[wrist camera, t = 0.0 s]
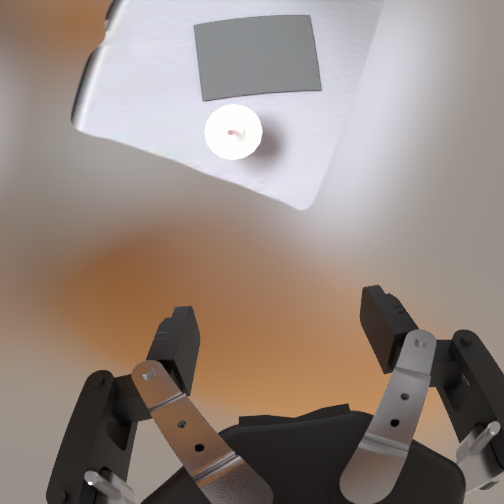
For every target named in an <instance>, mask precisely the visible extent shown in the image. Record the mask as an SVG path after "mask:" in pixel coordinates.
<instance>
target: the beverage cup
mask: <svg viewBox="0 0 504 504" xmlns="http://www.w3.org/2000/svg"><path fill="white" fill-rule="evenodd" d="M262 132H263V131H262V126H261V122H260V120H259V118H258V117H257V116H256V114H255V113H254V112H253V111H252V110H250V109H248V108H247V107H245V106H241V105H235V104H232V105H227V106H223V107H221V108H219V109H218V110H216V111H215V112H213V113H212V115H211V116H210V118H209V119H208V121H207V122H206V128H205V137H206V142H207V144H208V146H209V147H210V148H211V150H212V151H213V153H215V154H217V155H218V156H220V157H222V158H225V159H231V160H236V159H241V158H245V157H247V156H248V155H250V154H251V153H253V152H254V151H255V150H256V148H257V147H258V145H259V144H260V142H261V137H262Z"/></svg>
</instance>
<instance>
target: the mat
mask: <svg viewBox="0 0 504 504" xmlns="http://www.w3.org/2000/svg"><path fill="white" fill-rule="evenodd" d="M194 32H195V41H196V50H197V59H198V67H199V75H200V84H201V91H202V99H203V101H207V100H213V99H220V98H227V97H234V96H242V95H251V94H261V93H272V92H287V91H310V90H321V85H320V77H319V70H318V63H317V56H316V50H315V44H314V38H313V32H312V26H311V21H310V16H309V15H276V16H259V17H247V18H237V19H229V20H222V21H215V22H209V23H203V24H198V25H194Z"/></svg>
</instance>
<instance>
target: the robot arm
mask: <svg viewBox="0 0 504 504" xmlns="http://www.w3.org/2000/svg"><path fill="white" fill-rule="evenodd" d="M360 322H361V325H362V328H363V330H364V332H365V334H366V336H367V338H368V340H369V342H370V344H371V346H372V349H373V351H374V353H375V355H376V357H377V359H378V362H379V364H380V366H381V368H382V371H383V373H384V374H387V373H391V372H393V373H392V375H391V378H390V380H389V383H388V385H387V388H386V390H385V392H384V395H383V397H382V399H381V402H380V404H379V406H378V408H377V410H376V412H375V415H371V414H368V413H365V412H361V411H351V410H350V408H349V405H348V404H342V405H337V406H331V407H325V408H321V409H318V410H316V411H313V412H310V413H308V414H305V415H302V416H299V417H296V418H290V417H280V416H271V415H258V416H242V417H239V424H237V425H234V426H231V427H228V428H226V429H224V430H222V431H221V432H219V433H217V432H216V431H215V430H214V429H213V428H212V427H211V425H210V424H209V423H208V422H207V420H206V419H205V418H204V417H203V416H202V414H201V413H200V412H199V411H198V409H197V408H196V407H195V406H194V404H193V403H192V402H191V401H190V399H189V398H188V397H187V396H190V393H191V388H192V382H193V377H194V371H195V367H196V361H197V356H198V351H199V346H200V333H199V329H198V325H197V322H196V318H195V315H194V311H193V308H192V307H191V306H182V307H175V309H174V312H173V314H172V317H171V318H165V320H164V321H163V322H162V323H161V324H160V325H159V327H158V330H157V332H156V333H157V334H156V335H155V337H154V340H153V342H152V345H151V348H150V350H149V353H148V356H147V358H146V361H143V362H141V363H139V364H138V365H136V366H135V368H134V369H133V371H132V373H131V374H129V375H125V376H120V377H116V378H114V376H113V375H112V373H111V372H109V371H107V370H99V371H96V372H94V373H92V374H91V375H90V376H89V377H88V378H87V380H86V382H85V384H84V386H83V389H82V392H81V393H80V396H79V398H78V401H77V403H76V406H75V408H74V411H73V413H72V416H71V418H70V421H69V424H68V427H67V429H66V432H65V435H64V438H63V440H62V443H61V446H60V449H59V452H58V455H57V458H56V461H55V464H54V468H53V471H52V474H51V477H50V481H49V485H48V488H47V492H46V500H47V502H48V504H135V495H134V491H133V490H132V488H131V487H130V486H129V485H128V484H127V483H126V480H127V474H128V469H129V464H130V459H131V453H132V448H133V443H134V439H135V434H136V429H137V424H138V421H142V420H147V419H152V418H153V419H154V421H155V423H156V424H157V426H158V428H159V429H160V431H161V433H162V434H163V436H164V437H165V439H166V441H167V442H168V443H169V445H170V447H171V448H172V450H173V451H174V453H175V454H176V456H177V457H178V459H179V460H180V462H181V463H182V464H183V466H182V467H181V468H180V469H179V470H178V471H177V472H176V473H175V474H173V475H172V476H171V477H170V478H169V479H168V480H167V481H166V482H165V483H163V484H162V485H161V486H160V487H159V488H158V489H157V490H155V491H154V492H153V493H152V494H150V495H149V496H148V497H147V498H146V499H144V500H143V502H141V504H463V502H464V497H465V496H466V495H468V494H470V493H471V492H474V491H475V490H477V489H481V490H486V489H489V488H491V487H492V486H494V485H495V484H496V483H498V482H499V481H500V480H502V479H503V478H504V374H503V373H502V371H501V370H500V368H499V366H498V365H497V363H496V362H495V361H494V359H493V357H492V356H491V354H490V353H489V351H488V350H487V349H486V347H485V346H484V344H483V343H482V342H481V340H480V339H479V337H478V336H477V335H476V334H475V333H473V332H472V331H469V330H458V331H456V332H455V334H454V335H453V338H452V340H436V338H435V337H434V336H433V334H431V333H430V332H428V331H425V330H420V329H419V328H418V327H417V325H416V324H415V322H414V321H413V319H412V318H411V317H410V315H409V314H408V312H406V310H405V308H404V307H403V306H402V304H401V303H400V301H399V300H398V299H397V298H396V297H394V296H393V295H391V294H385V293H384V291H383V290H382V288H381V287H380V286H379V285H374V286H368V287H364V288H363V290H362V299H361V308H360ZM465 378H466V379H465ZM466 380H467V381H466ZM467 382H468V383H469V385H468V383H467ZM428 387H436V388H437V390H438V392H439V395H440V397H441V399H442V401H443V404H444V406H445V408H446V410H447V413H448V415H449V418H450V420H451V422H452V425H453V427H454V430H455V432H456V435H457V438H458V440H459V443H460V445H459V446H458V448H457V451H456V459H457V460H456V463H454V462H453V461H451V460H450V459H448V458H446V457H444V456H442V455H440V454H438V453H437V452H435V451H433V450H431V449H430V448H427V447H426V446H424V445H422V444H421V443H419V442H417V441H415V440H414V439H412V438H413V436H414V433H415V430H416V427H417V424H418V421H419V418H420V415H421V412H422V409H423V405H424V402H425V398H426V395H427V391H428Z"/></svg>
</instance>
